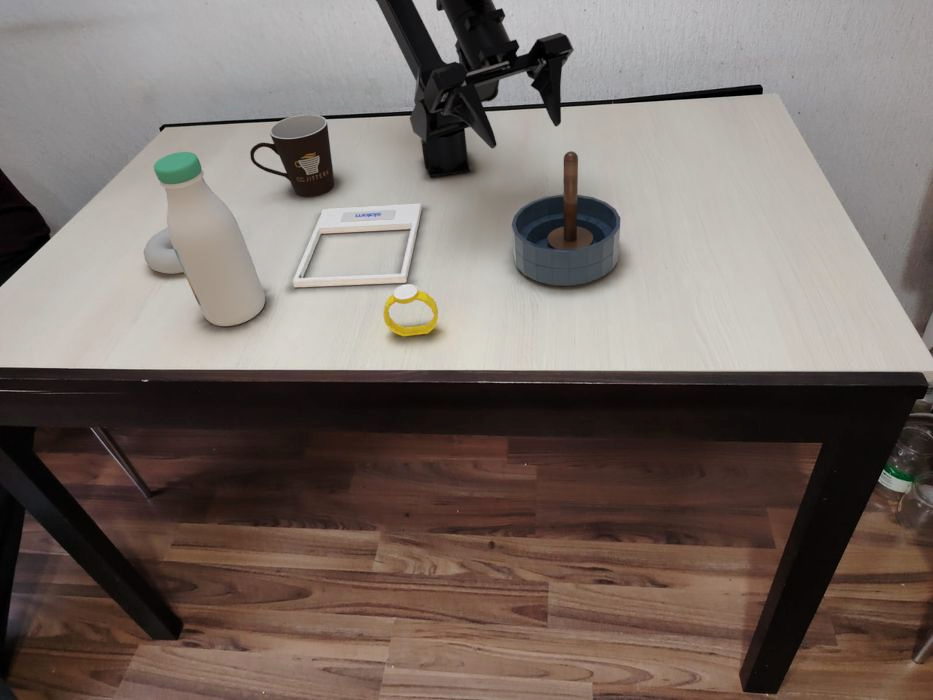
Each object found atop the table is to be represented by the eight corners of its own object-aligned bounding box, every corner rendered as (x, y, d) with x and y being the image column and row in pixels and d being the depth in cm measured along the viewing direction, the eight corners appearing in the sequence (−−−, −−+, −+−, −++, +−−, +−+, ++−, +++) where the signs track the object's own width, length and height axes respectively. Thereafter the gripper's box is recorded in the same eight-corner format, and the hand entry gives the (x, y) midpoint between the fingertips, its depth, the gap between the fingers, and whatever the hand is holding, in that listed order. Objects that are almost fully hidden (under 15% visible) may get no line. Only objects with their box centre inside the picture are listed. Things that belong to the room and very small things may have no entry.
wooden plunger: (601, 261, 82) (606, 154, 73) (562, 276, 81) (562, 168, 72) (577, 241, 86) (578, 136, 77) (539, 254, 85) (536, 149, 76)
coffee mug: (346, 173, 109) (333, 113, 102) (334, 199, 102) (318, 137, 96) (278, 176, 110) (260, 117, 103) (262, 202, 104) (241, 141, 97)
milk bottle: (279, 296, 85) (226, 147, 71) (240, 333, 80) (176, 181, 66) (232, 285, 88) (173, 140, 74) (191, 320, 83) (121, 172, 69)
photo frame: (420, 202, 97) (404, 275, 83) (421, 209, 97) (406, 282, 84) (322, 207, 98) (291, 280, 85) (324, 214, 99) (294, 287, 86)
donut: (194, 283, 89) (235, 241, 96) (183, 262, 87) (227, 220, 93) (134, 274, 92) (179, 234, 99) (123, 254, 90) (169, 214, 96)
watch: (441, 322, 78) (434, 281, 74) (440, 338, 76) (433, 296, 72) (390, 326, 78) (380, 285, 74) (388, 342, 76) (378, 300, 72)
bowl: (601, 225, 90) (603, 188, 86) (631, 280, 80) (634, 241, 76) (506, 239, 89) (504, 202, 86) (524, 296, 80) (522, 258, 76)
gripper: (517, 39, 92) (563, 141, 92) (394, 74, 86) (443, 184, 86) (548, -14, 81) (600, 102, 81) (410, 23, 76) (466, 147, 76)
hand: (526, 135), depth 81 cm, fingers open, 9 cm apart
